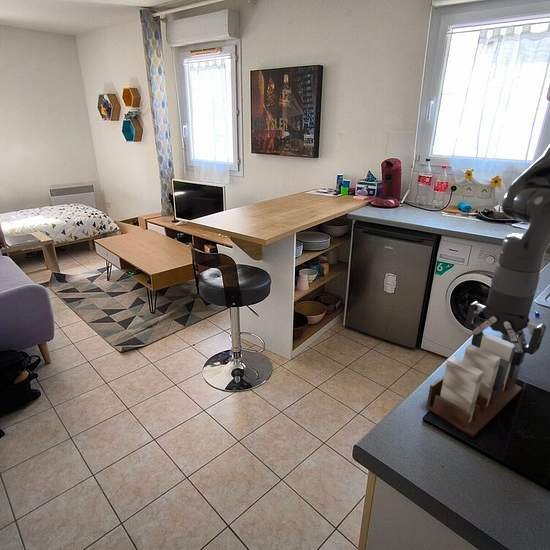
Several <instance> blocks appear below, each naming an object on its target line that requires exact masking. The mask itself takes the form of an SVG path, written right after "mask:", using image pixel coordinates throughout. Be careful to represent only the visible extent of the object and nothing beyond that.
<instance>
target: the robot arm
mask: <svg viewBox="0 0 550 550" xmlns="http://www.w3.org/2000/svg"><path fill="white" fill-rule="evenodd" d="M501 210H502V213H503V215H504V216H505V217H507V218H509V219H511V220H514V221H517V222H521V223H524V224H529V225H528V228H527V229H526V231H525V232H524V233H523V232H522V233H521V232H518V233H517V232H516V233H510V234H508V235H506V236H505V237H504V239H503V241H502V243H501V247H500V251H499V255H498V260H497V263H496V267H495V269H494V271H493V274H492V277H491V281H490V287H489V291H488V296H487V299H486V305H483V304H481V303H480V301H477V300H475V301H474V302H472V303H470V304H469V305H468V309H467V314H466V319H465V324H464V326H465V328H466V329H468V330H470V331H471V332H472V338H471V345H474V346H476V347H478V348H480V345H481V340H482V336H483V335H485V332H483V331H485V330H486V329H488V328H490V329H491V330H492V331H494V332H499V333H500V334H501V335H502V334H504V335H509V337H510V340H511V342H513V343H514V346H515V348H516V351H515V352H514V355H513V359H512V362H511V366H513V367H516V366H519V365H522V364H523V362H524V360H525V357H526V354H528V355H530V356H531V355H534V354H535V353H536V352H537V351H539V350H540V347H541V344H542V342H543V337H544V335H545V333H546V329H547V326H546V325H545V324H543V323H540V324H537V323H534V322H532V321H530V319H529V318H530V317H529V316H530V313H531V309H532V306H533V303H534V300H535V296H536V292H537V289H538V285H539V282H540V276H541V275H540V274H541V270H542V267H543V263H544V259H545V256H546V251H547V249H548V248H549V246H550V144H549V145H548V147H547V148H546V150H545V151H544V152H543V154H542V155H541V156H540V157H539V158H538V159H537V160H536V161H534V163H532V164H531V165H530V166H529V167H528V168H527V169H526V170H525V171H524V172H522V174H521V175H520V176H518V177H517V178H516V179H515V180H514V181H513V182H512V183H511V184H510V186H509V187H508V188H507V190H506V191H505V193H504V195H503V197H502V201H501ZM481 312H482V314H483V316H484V318H485V321H484V322H482V323H480V325H479V324H477V322H478V317H479V314H480V313H481ZM526 328H527V329H528V332H529V335H531V337H530V340H529V343H528V342H527V341H526V334H525V331H524V329H526ZM519 367H520V366H519Z"/></svg>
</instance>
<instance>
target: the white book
mask: <svg viewBox="0 0 550 550" xmlns="http://www.w3.org/2000/svg"><path fill="white" fill-rule="evenodd" d="M480 349H483V350H485V351H487V352H489V353H492V354H494V355H496V356H498V357H501V358H502V359H504V360H506V361H508V362H509V366H508V369H507V373H506V376H505V380H504V388H505V384H506V381H507V377H508V374H509V370H510V367H511V362H512V359H513V355H514V352H515V349H516V348H515V346H514V344H513V343H510V342H508V341H505V340H503V339H502V338H500V337H497V336H495V335H493V334H491V333H489V332H486V333H484V335H483V336H482V340H481V345H480ZM504 388H503V391H504ZM503 391H502V392H503Z"/></svg>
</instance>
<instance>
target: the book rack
mask: <svg viewBox="0 0 550 550" xmlns="http://www.w3.org/2000/svg"><path fill="white" fill-rule="evenodd" d="M515 351H516V349H515ZM520 365H521V364H520ZM520 365H519V366H516V367H513V366H511V367H510V370H509V374H508V377H507V381H506V384H505V388H504V380H505V376H506V373H507V369H508V366H509V362H508V361H506V360H504V359H502V358H501V357H498V356H496V355H494V354H492V353H489V352H487V351H485V350H483V349H480V348H478V347H476V346H474V345H472V344H469V345H467V346H466V347H465V350H464V354H463V359H462V360H461V359H459V358H457V357H455V356H451V357H449V358H447V361H446V365H445V370H444V374H443V375H442V376H440V378H438V379H436V380H435V381H434V382H433V383H431V384H430V385H429V390H428V395H427V401H426V405H425V409H427V410H429V411H430V412H432V413H434V414H435V415H436V416H438V417H440V418H442V419H443V420H444V421H446V422H447V423H449V424H451V425H453V426H454V427H455V428H457V429H459V430H460V431H462V432H464V433H465V434H466V435H468V436H470V437H471V438H474V437H475V436H476V435H477V434H478V433H480V432H481V431H482V429H484V428H485V426H487V424H489V423H490V422H491V421H492V420H493V419H494V418H495V417H496V416H497V415H498V414H499V413H500V412H501V411H502V410H503V409H504V408H505V407H506V406H507V405H508V404H510V402H511V401H513V399H514V398H516V397H517V395H519V394H520V393H521V392H522V390H523V387H522V386H520V385H518V384H516V382H517V379H518V377H519V376H518V375H519V372H520V371H519V369H520ZM503 388H504V391H503ZM502 391H503V392H502Z"/></svg>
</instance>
